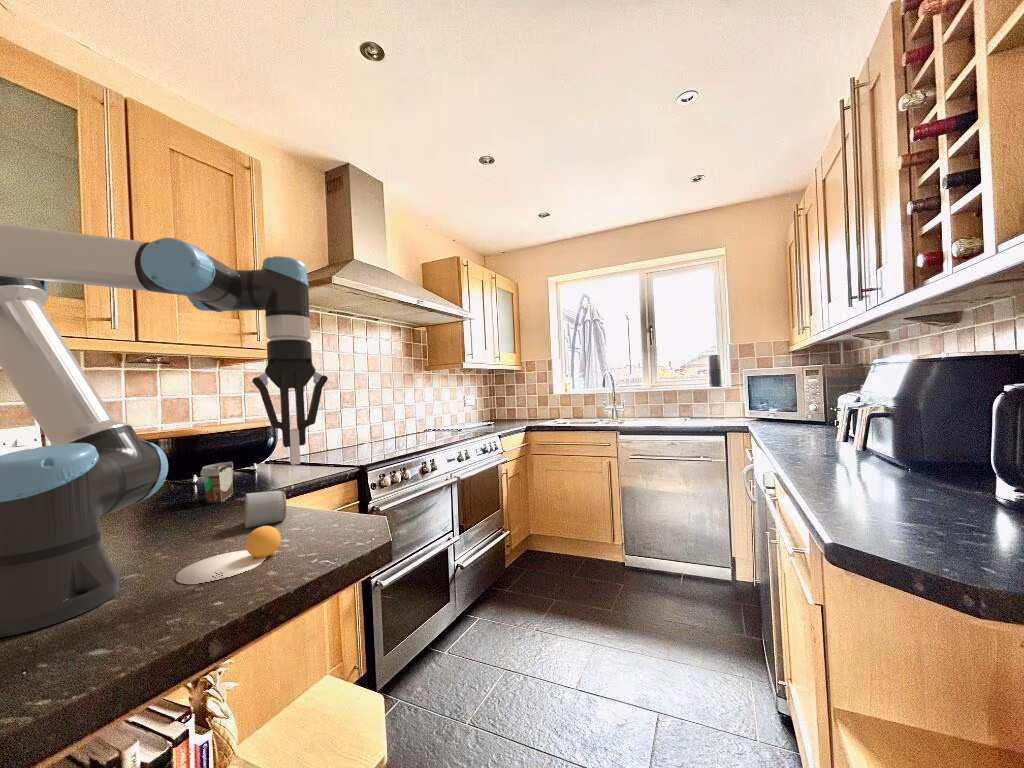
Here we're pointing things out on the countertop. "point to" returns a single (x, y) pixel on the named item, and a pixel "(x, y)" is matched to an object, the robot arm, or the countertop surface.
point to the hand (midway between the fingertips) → (295, 463)
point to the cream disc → (218, 567)
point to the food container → (218, 481)
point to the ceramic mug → (264, 508)
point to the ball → (263, 541)
